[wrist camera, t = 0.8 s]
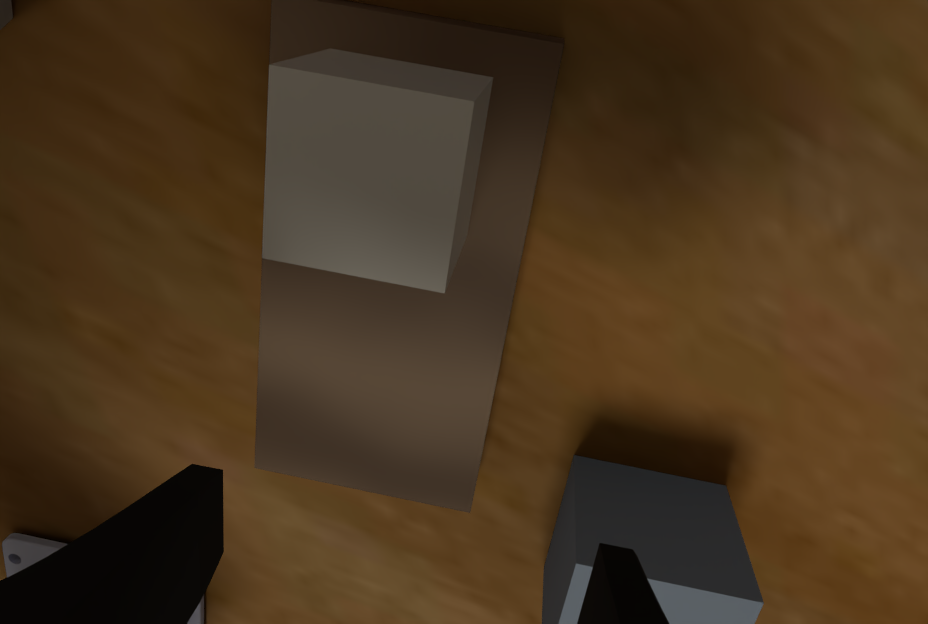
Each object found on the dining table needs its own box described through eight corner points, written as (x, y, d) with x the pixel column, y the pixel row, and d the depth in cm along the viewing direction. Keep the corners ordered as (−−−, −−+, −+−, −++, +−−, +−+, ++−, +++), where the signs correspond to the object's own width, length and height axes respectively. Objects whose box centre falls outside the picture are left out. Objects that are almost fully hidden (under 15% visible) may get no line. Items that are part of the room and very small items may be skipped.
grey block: (467, 234, 19) (444, 293, 15) (318, 206, 19) (262, 258, 16) (493, 77, 17) (474, 101, 14) (330, 48, 17) (268, 64, 14)
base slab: (476, 474, 24) (470, 512, 23) (277, 432, 25) (254, 467, 23) (564, 38, 19) (564, 44, 17) (299, -8, 19) (271, -7, 17)
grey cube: (682, 595, 26) (707, 725, 21) (543, 566, 26) (539, 688, 21) (725, 484, 24) (764, 603, 19) (574, 453, 24) (576, 563, 19)
